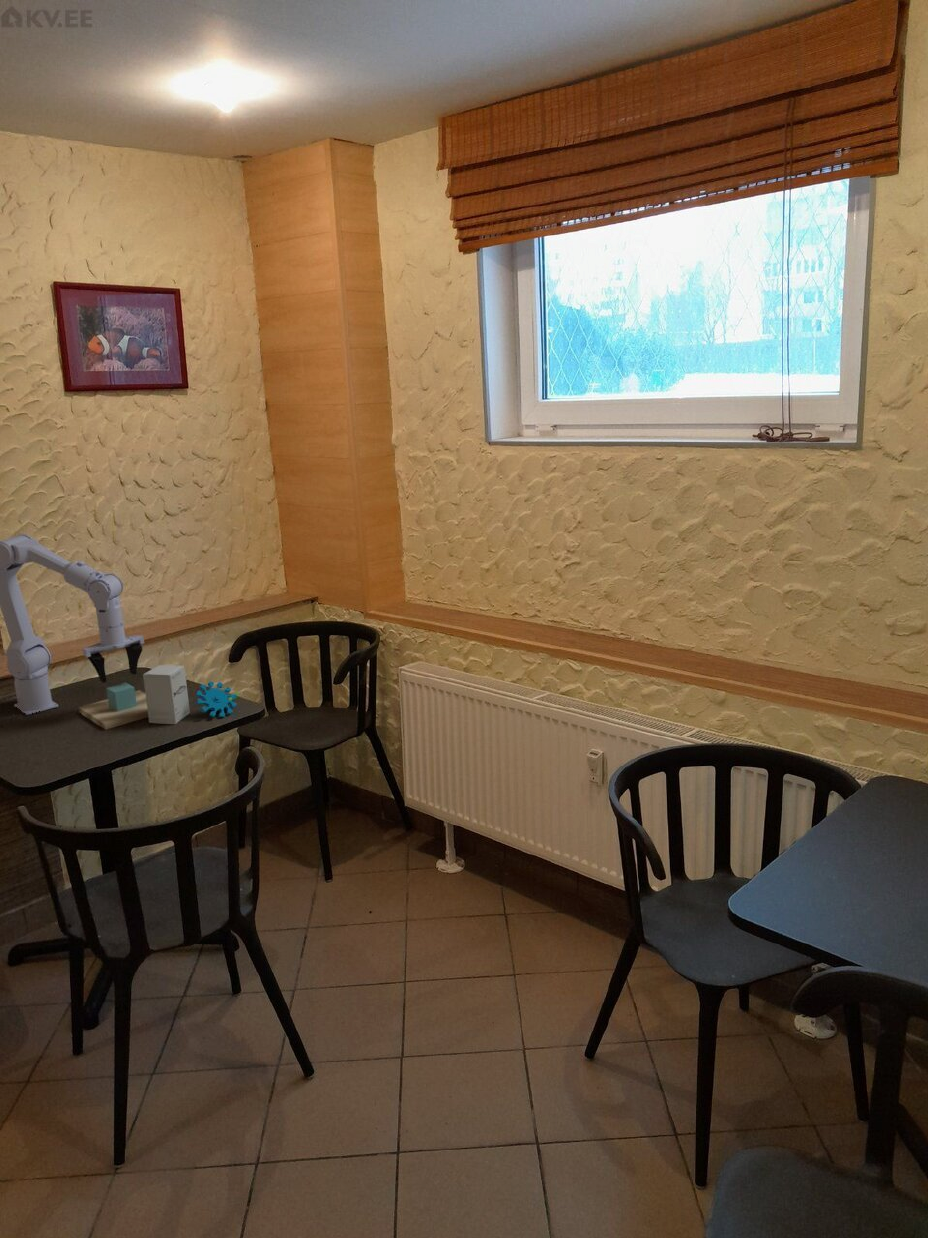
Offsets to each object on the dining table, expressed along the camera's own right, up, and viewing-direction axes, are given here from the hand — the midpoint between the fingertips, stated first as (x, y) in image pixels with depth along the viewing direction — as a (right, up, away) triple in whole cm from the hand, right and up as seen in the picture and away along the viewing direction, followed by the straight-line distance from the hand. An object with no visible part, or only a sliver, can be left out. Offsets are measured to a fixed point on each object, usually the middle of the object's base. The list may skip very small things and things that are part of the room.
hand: (118, 677), depth 232 cm
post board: (0, -9, +3) cm, 9 cm away
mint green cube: (0, -7, +2) cm, 8 cm away
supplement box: (+14, -10, -3) cm, 17 cm away
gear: (+25, -9, -1) cm, 27 cm away
